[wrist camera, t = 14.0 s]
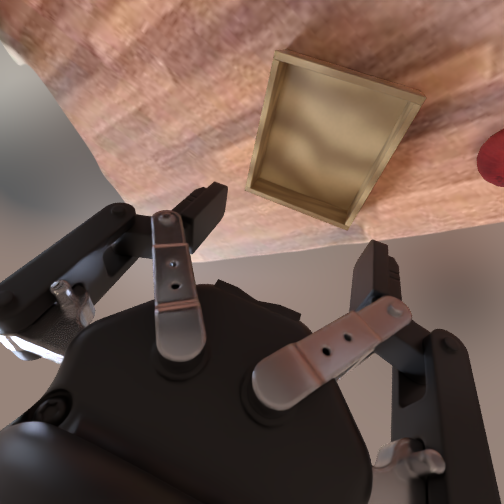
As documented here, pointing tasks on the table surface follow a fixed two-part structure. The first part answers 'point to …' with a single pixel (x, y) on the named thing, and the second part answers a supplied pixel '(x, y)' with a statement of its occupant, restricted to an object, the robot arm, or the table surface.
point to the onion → (492, 159)
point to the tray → (326, 136)
